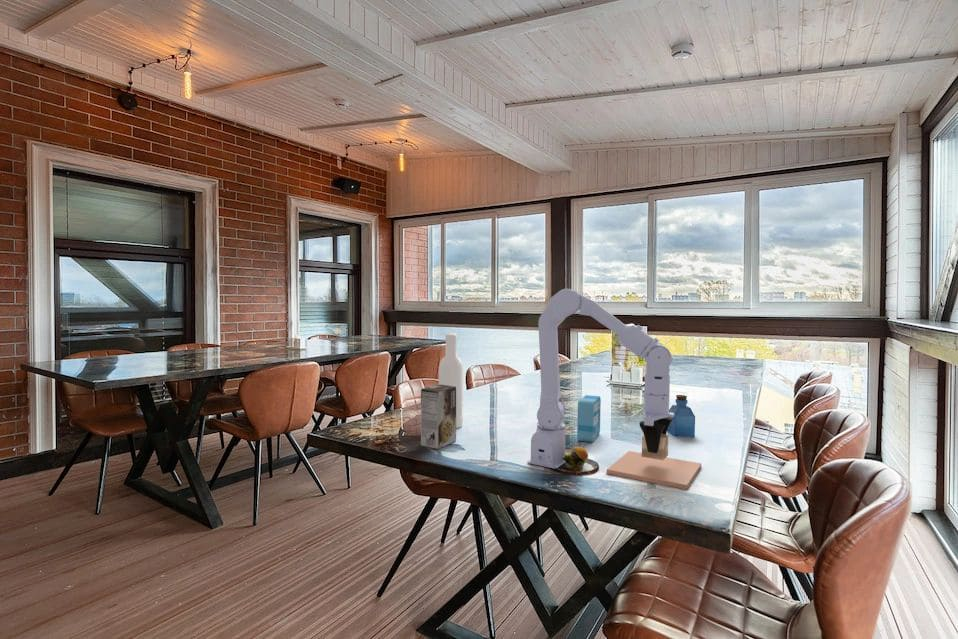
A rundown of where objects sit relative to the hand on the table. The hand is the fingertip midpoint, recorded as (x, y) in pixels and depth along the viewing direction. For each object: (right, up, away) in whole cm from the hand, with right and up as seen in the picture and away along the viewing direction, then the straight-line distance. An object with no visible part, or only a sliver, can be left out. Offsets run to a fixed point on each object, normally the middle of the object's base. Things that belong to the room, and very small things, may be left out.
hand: (655, 449), depth 122 cm
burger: (-19, -6, +2) cm, 20 cm away
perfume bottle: (+20, -4, +35) cm, 40 cm away
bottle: (-52, -3, +41) cm, 66 cm away
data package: (-10, -4, +29) cm, 31 cm away
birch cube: (0, -2, 0) cm, 2 cm away
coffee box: (-54, -4, +21) cm, 58 cm away
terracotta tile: (0, -5, 0) cm, 5 cm away
